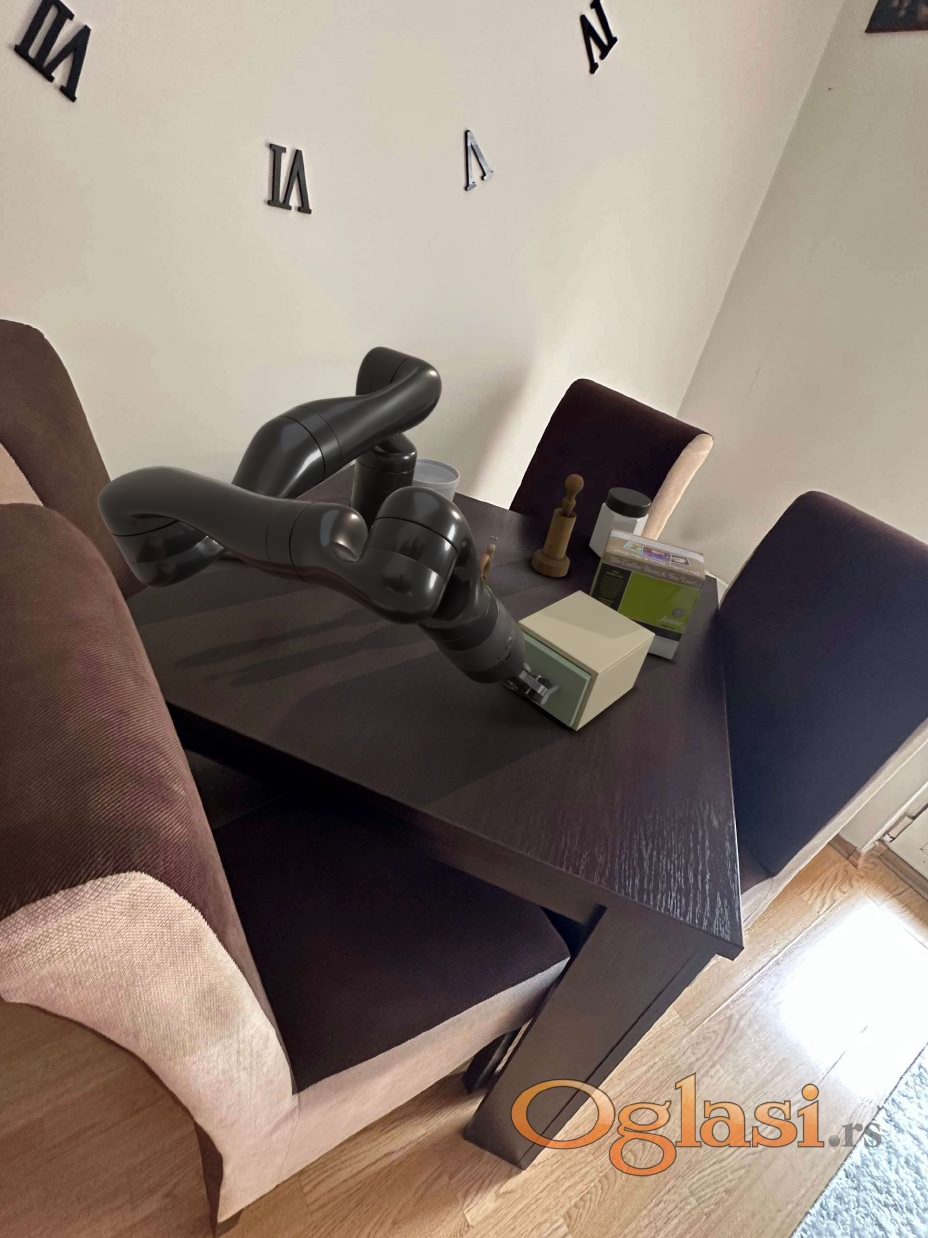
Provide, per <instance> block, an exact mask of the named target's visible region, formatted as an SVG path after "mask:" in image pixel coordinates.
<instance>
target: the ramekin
mask: <svg viewBox="0 0 928 1238" xmlns="http://www.w3.org/2000/svg"><path fill="white" fill-rule="evenodd" d="M460 480H461V474H460V471H459V470H458V469H457V468H456V467H454V466H453V465H452V464H449V463H447V462H445V461H443V460H439V459H434V458H429V457H423V456H421V457H420V456H417V460H416V466H415V472H414V479H413V485H412V486H414V485H415V486H423V487H428V488H431V489H434V490H436V491H438V492H440V493H441V494H443V495H444V496H446V497H447V498H449V499H450V500H451V501H452V502H453V500H454V497H455V494H456V491H457V488H458V487H457V486H458V485H459V483H460Z"/></svg>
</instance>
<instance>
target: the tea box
mask: <svg viewBox="0 0 928 1238" xmlns="http://www.w3.org/2000/svg"><path fill="white" fill-rule="evenodd" d="M704 555H705V554H704V553H702V552H700V551H697V550H693V549H689V548H685V547H682V546H678V545H674V544H672V543H668V542H663V541H660V540H656V539H653V538H650V537H647V536H643V535H641V536H639V535H636V534H632V533H628V532H625V531H621V530H618V529H614V528H611V530H610V533H609V536H608V539H607V542H606V545H605V548H604V551H603V554H602V557H600V561H599V563H598V567H597V569H596V572H595V575H594V577H593V581H592V584H591V587H590V590H589V593H588V595H589V596H590V597H592V598H594V599H596V600H597V601H599V602H601V603H603V604H604V605H606V606H608V607H609V608H611V609H613V610H615V611H616V612H618V613H620V614H622V615H623V616H625V617H627V618H628V619H630V620H632V621H634V622H635V623H637V624H639V625H641V626H642V627H644V628H646V629H648V630H649V631H651V632H653V633H654V634H655V636H654V638H653V641H652V643H651V645H650V648H649V650H648V652H647V653H649V654H652V655H655V656H659V657H661V658H665V659H668V660H673V658H674V656H675V654H676V651H677V648H678V646H679V644H680V642H681V639H682V637H683V635H684V632H685V631H686V628H687V626H688V624H689V622H690V619H691V616H692V615H693V612H694V609H695V607H696V605H697V603H698V601H699V598H700V596H701V593H702V591H703V589H704V586H705V584H706V580H707V579H706V571H705V560H704V559H705V558H704Z"/></svg>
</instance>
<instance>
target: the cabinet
mask: <svg viewBox="0 0 928 1238" xmlns="http://www.w3.org/2000/svg"><path fill="white" fill-rule="evenodd" d="M516 624H517V625H518V626H519V628H520V629H521V630H522V631H523V632H525V633H526V634H528V635H529V634H530V635H531V636H533V637H535V638H536V639H538V640H539V641H541V642H542V643H544V644H545V645H547V646H548V647H550V648H551V649H553V650H555V651H556V652H558V653H559V654H561V655H562V656H564V657H565V658H567V659H568V660H570V661H572V662H573V663H575V664H576V665H578V666H579V667H581V668H582V669H584V670H585V671H587V672H588V673H590V674H592V675H591V676H592V678H591V681H590V684H589V686H588V689H587V692H586V694H585V697H584V699H583V702H582V705H581V707H580V710H579V712H578V715H577V718H576V720H575V723H574V724H573V725H571V726H570V727H569V728H571V729H573V730H574V731H575V732H577V731H578V730H580V729H581V728H582V727H584V726H585V725H586V724H588V723H589V722H590V721H591V720H593V719H594V718H595V717H597V716H598V715H599V714H600V713H601V712H603V711H604V710H605V709H607V708H609V706H611V705H612V704H613V703H614V702H616V701H618V700H619V699H620V698H621V697H622V696H624V695H625V694H626V693H627V692H629V691H630V690H631V689H633V688H634V685H635V683H636V681H637V678H638V675H639V673H640V671H641V668H642V666H643V664H644V661H645V659H646V657H647V654H648V653H649V652H648V650H649V648H650V645H651V643H652V641H653V638H654V636H655V634H654V633H653V632H651V631H649V630H648V629H646V628H644V627H642V626H641V625H639V624H637V623H635V622H634V621H632V620H630V619H628V618H627V617H625V616H623V615H622V614H620V613H618V612H616V611H615V610H613V609H611V608H609V607H608V606H606V605H604V604H603V603H601V602H599V601H597V600H596V599H594V598H592V597H590V596H589V594H587V593H585V592H583V591H582V590H577V591H575V592H573V593H572V594H569V595H568V596H566V597H563V598H562V599H559V600H558V601H556V602H554V603H552V604H549V605H548V606H546V607H544V608H542V609H540V610H538V611H535V612H534V613H532V614H530V615H528V616H525V617H524V618H523V619H520V620H518V621H517V623H516Z"/></svg>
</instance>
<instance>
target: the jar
mask: <svg viewBox="0 0 928 1238" xmlns="http://www.w3.org/2000/svg"><path fill="white" fill-rule="evenodd" d="M651 505H652V500H651V499H650V498H649V497H648V496H647V495H646V494H643V493H642V492H639V491H637V490H634V489H630V488H626V487H612V488H610V489H609V491H608V494H607V495H606V499H605V502H603V503H602V504H601V508H600V511H599V513H598V517H597V520H596V523H595V526H594V529H593V532H592V535H591V538H590V541H589V544H588V547H589V548H590V549H591V550H592V551H593V552H594V553H595V554H596V555H597V556H598V557H599V558H601V557H602V554H603V551H604V548H605V545H606V542H607V539H608V536H609V533H610V530H611V528H614V529H618V530H621V531H625V532H628V533H632V534H636V535H639V536H642V534H643V531H644V528H645V526H646V523H647V521H648V518H649V513H648V512H649V509H650V507H651Z"/></svg>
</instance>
